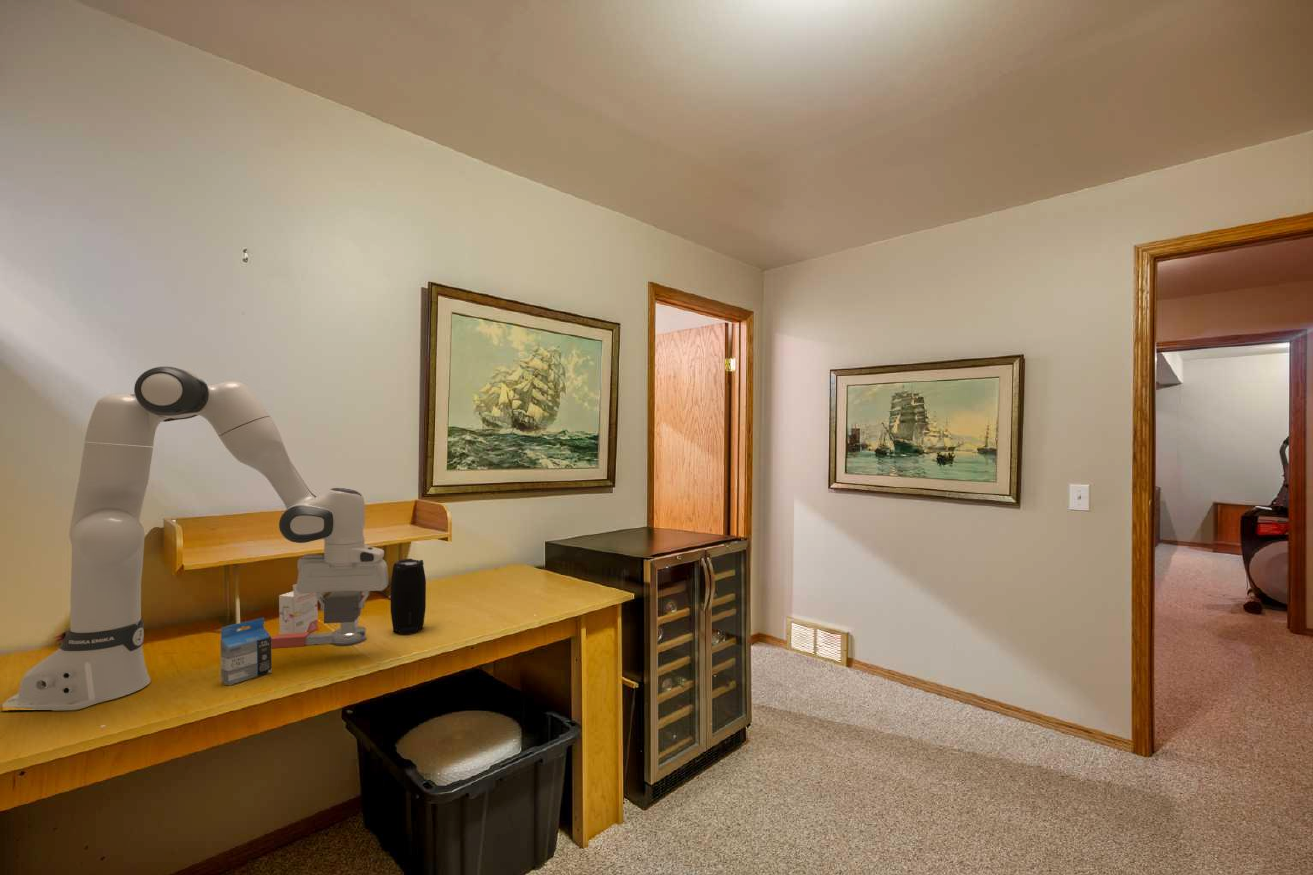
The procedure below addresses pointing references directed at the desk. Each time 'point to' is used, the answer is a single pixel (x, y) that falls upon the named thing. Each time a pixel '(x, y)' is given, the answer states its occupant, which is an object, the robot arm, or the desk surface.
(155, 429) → the robot arm
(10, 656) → the desk surface
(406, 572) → the portable speaker
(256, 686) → the desk surface
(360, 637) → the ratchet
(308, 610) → the ink cartridge box
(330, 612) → the dark grey block
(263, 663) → the label tape box
